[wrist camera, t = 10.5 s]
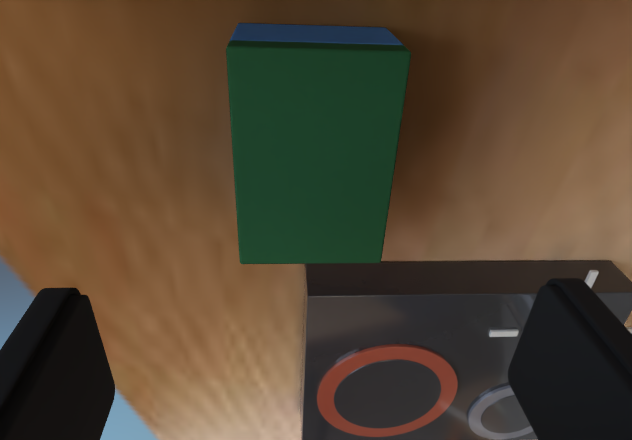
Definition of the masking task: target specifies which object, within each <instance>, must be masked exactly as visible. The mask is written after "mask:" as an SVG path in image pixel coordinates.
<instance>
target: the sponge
mask: <svg viewBox="0 0 632 440" xmlns="http://www.w3.org/2000/svg"><path fill="white" fill-rule="evenodd" d="M226 56H227V71H228V86H229V102H230V117H231V133H232V148H233V164H234V179H235V195H236V210H237V225H238V241H239V256H240V263H241V264H305V263H380V262H381V258H382V251H383V244H384V237H385V230H386V223H387V216H388V210H389V203H390V196H391V189H392V182H393V175H394V169H395V162H396V155H397V148H398V141H399V134H400V127H401V121H402V114H403V107H404V100H405V93H406V86H407V80H408V73H409V66H410V59H411V52H410V51H409V50H408V49H407V48H406V47H405V46H404V45H403V44H402V43H401V42H400V41H399V40H398V39H397V38H396V37H395V36H394V35H393V34H392V33H391V32H390V31H389V30H388V29H387V28H382V27H350V26H318V25H286V24H254V23H238V25H237V27H236V29H235V31H234V33H233V35H232V37H231V39H230V41H229V44H228V46H227V48H226Z"/></svg>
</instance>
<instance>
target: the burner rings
mask: <svg viewBox="0 0 632 440" xmlns="http://www.w3.org/2000/svg"><path fill="white" fill-rule="evenodd" d="M457 384H458V382H457V376H456V374H455V371H454V369H453V367H452V366H451V364H450V363H449V362H448V361H447V360H446V359H445V358H444V357H442V356H441V355H440V354H438V353H436V352H434V351H432V350H430V349H427V348H424V347H420V346H415V345H408V344H388V345H381V346H375V347H371V348H367V349H364V350H361V351H358V352H356V353H354V354H351V355H349V356H347V357H346V358H344V359H342V360H341V361H339V362H338V363H337V364H335V365H334V366H333V367H332V368H331V369H330V370H329V371H328V372H327V373H326V374H325V375H324V377H323V378H322V380H321V382H320V384H319V387H318V390H317V405H318V409H319V411H320V413H321V415H322V416H323V417H324V419H325V420H326V421H327V422H329V423H330V424H331V425H333V426H334V427H336V428H338V429H339V430H342V431H344V432H347V433H350V434H354V435H359V436H367V437H385V436H393V435H399V434H403V433H407V432H410V431H413V430H416V429H418V428H421V427H423V426H425V425H427V424H428V423H430V422H432V421H433V420H435V419H436V418H438V417H439V416H440V415H441V414H442V413H443V412H445V411H446V409H447V408H448V407H449V406H450V405H451V403H452V401H453V400H454V398H455V395H456V392H457ZM468 424H469V426H470V428H471V430H472V431H473V432H474V433H475V434H477V435H479V436H481V437H484V438H488V439H500V440H501V439H510V438H515V437H519V436H522V435H525V434H528V433H530V432H532V431H533V429H532V427H531V425H530V423H529V421H528V419H527V417H526V415H525V414H524V412H523V410H522V408H521V406H520V404H519V402H518V400H517V398H516V396H515V394H514V392H513V391H512V389H511V387H510V385H507V386H503V387H500V388H498V389H495V390H493V391H491V392H489V393H487V394H485V395H484V396H482V397H481V398H480V399H478V400H477V401H476V402H475V403H474V404H473V406H472V407H471V409H470V411H469V413H468Z"/></svg>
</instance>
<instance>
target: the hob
mask: <svg viewBox="0 0 632 440" xmlns="http://www.w3.org/2000/svg"><path fill="white" fill-rule="evenodd" d="M554 278H579V279H582V280H583V281H584V282H585V283H586V284H587V285H588V286H589V287H590V288H591V289H592V290H593V291H594V293H595V294H596V295H597V296H598V297H599V298H600V299H601V300H602V301H603V303H604V304H605V305H606V306H607V307H608V308H609V309H610V310H611V312H612V313H613V314H614V315H615V316H616V317H617V318H618V319H619V320H620V322H621V323H622V324H623V325H624V323H625V322H626V320H627V318H628V316H629V315H630V313H631V311H632V282H631V281H630V280H629V279H628V278H627V277H626V276H625V275H624V274H623V273H622V272H621V271H620V270H619V269H618V268H617V267H616V266H615V265H614V264H613V263H612V262H611V261H485V262H380V263H305V284H304V314H303V345H302V375H301V405H300V416H301V440H500V439H488V438H484V437H481V436H479V435H477V434H475V433H474V432H473V431H472V430H471V428H470V426H469V424H468V413H469V411H470V409H471V407H472V406H473V404H474V403H475V402H476V401H477V400H478V399H480V398H481V397H482V396H484V395H485V394H487V393H489V392H491V391H493V390H495V389H498V388H500V387H503V386H507V385H510V384H509V381H508V368H509V366H510V363H511V360H512V358H513V355H514V353H515V350H516V348H517V345H518V342H519V340H520V337H521V335H522V332H523V329H524V327H525V324H526V322H527V319H528V316H529V314H530V311H531V309H532V306H533V303H534V301H535V298H536V296H537V293H538V291H539V289H540V287H542V286H545V285H546V283H547V281H549V280H550V279H554ZM626 328H627V329H628V331H629V332H630V333H631V334H632V327H626ZM388 344H408V345H415V346H420V347H424V348H427V349H430V350H432V351H434V352H436V353H438V354H440V355H441V356H442V357H444V358H445V359H446V360H447V361H448V362H449V363H450V364H451V366H452V367H453V369H454V371H455V374H456V376H457V382H458V384H457V392H456V395H455V398H454V400H453V401H452V403H451V405H450V406H449V407H448V408H447V409H446V411H445V412H443V413H442V414H441V415H440V416H439V417H438V418H436V419H435V420H433V421H432V422H430V423H428V424H427V425H425V426H423V427H421V428H418V429H416V430H413V431H410V432H407V433H403V434H399V435H393V436H385V437H367V436H359V435H354V434H350V433H347V432H344V431H342V430H339V429H338V428H336V427H334V426H333V425H331V424H330V423H329V422H327V421H326V420H325V419H324V417H323V416H322V415H321V413H320V411H319V409H318V405H317V390H318V387H319V384H320V382H321V380H322V378H323V377H324V375H325V374H326V373H327V372H328V371H329V370H330V369H331V368H332V367H333V366H334V365H335V364H337V363H338V362H339V361H341V360H342V359H344V358H346V357H347V356H349V355H351V354H354V353H356V352H358V351H361V350H364V349H367V348H371V347H375V346H381V345H388ZM501 440H538V439H537V437H536V435H535V433H534V431H532V432H530V433H528V434H525V435H522V436H519V437H515V438H510V439H501Z"/></svg>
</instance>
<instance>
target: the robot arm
mask: <svg viewBox="0 0 632 440" xmlns="http://www.w3.org/2000/svg"><path fill="white" fill-rule="evenodd" d="M508 381H509V384H510V387H511V389H512V391H513V392H514V394H515V396H516V398H517V400H518V402H519V404H520V406H521V408H522V410H523V412H524V414H525V415H526V417H527V419H528V421H529V423H530V425H531V427H532V429H533V431H534V433H535V435H536V437H537V439H538V440H632V334H631V333H630V332H629V331H628V329H627V328H626V327H625V326H624V325H623V324H622V323H621V322H620V320H619V319H618V318H617V317H616V316H615V315H614V314H613V313H612V312H611V310H610V309H609V308H608V307H607V306H606V305H605V304H604V303H603V301H602V300H601V299H600V298H599V297H598V296H597V295H596V294H595V293H594V291H593V290H592V289H591V288H590V287H589V286H588V285H587V284H586V283H585V282H584V281H583V280H582V279H579V278H554V279H550V280H549V281H547V283H546V285H545V286H542V287H540V289H539V291H538V293H537V296H536V298H535V301H534V303H533V306H532V309H531V311H530V314H529V316H528V319H527V322H526V324H525V327H524V329H523V332H522V335H521V337H520V340H519V342H518V345H517V348H516V350H515V353H514V355H513V358H512V360H511V363H510V366H509V368H508ZM114 395H115V384H114V380H113V377H112V373H111V370H110V367H109V363H108V360H107V357H106V353H105V350H104V347H103V343H102V340H101V337H100V333H99V330H98V327H97V323H96V320H95V317H94V313H93V310H92V306H91V303H90V300H89V298H88V296H87V295H81V294H80V292H79V290H78V289H77V288H44V289H42V290H41V291H40V292H39V293H38V294H37V296H36V297H35V299H34V300H33V302H32V303H31V305H30V306H29V308H28V309H27V311H26V312H25V314H24V315H23V317H22V318H21V320H20V321H19V323H18V324H17V326H16V327H15V329H14V330H13V332H12V333H11V335H10V336H9V338H8V339H7V341H6V342H5V344H4V345H3V347H2V349H1V350H0V440H100V438H101V435H102V432H103V429H104V426H105V423H106V421H107V418H108V415H109V412H110V409H111V406H112V403H113V400H114Z"/></svg>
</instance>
